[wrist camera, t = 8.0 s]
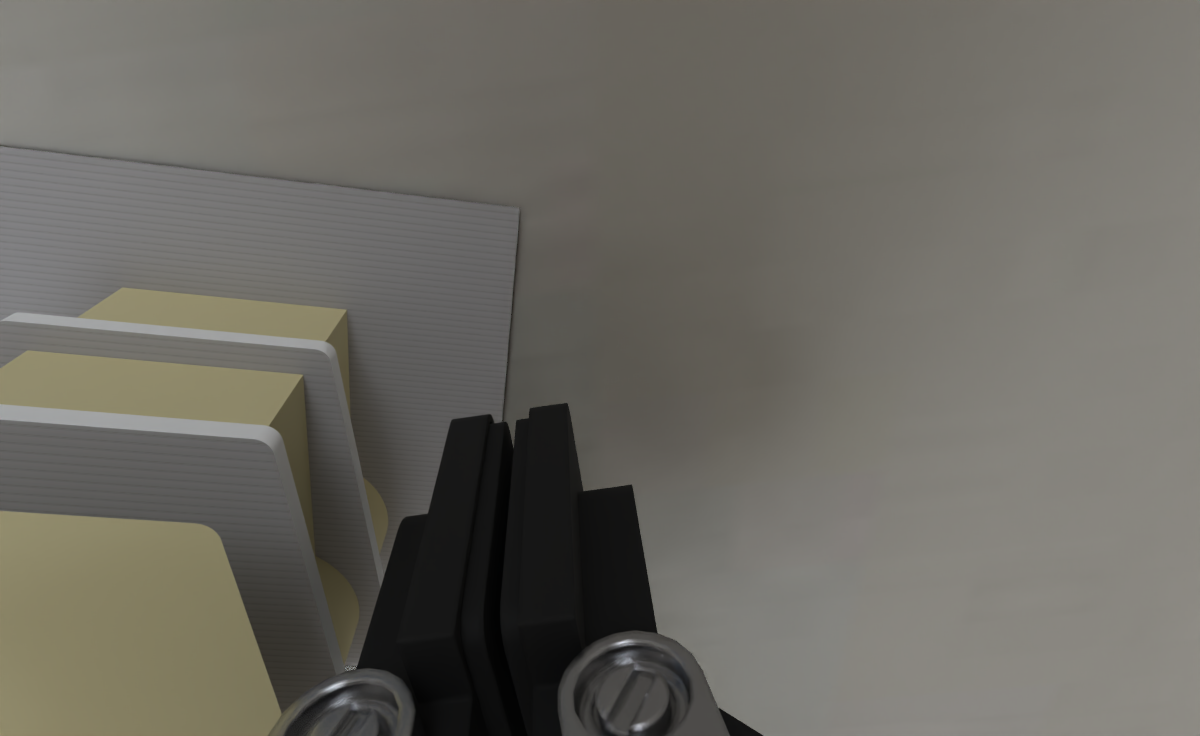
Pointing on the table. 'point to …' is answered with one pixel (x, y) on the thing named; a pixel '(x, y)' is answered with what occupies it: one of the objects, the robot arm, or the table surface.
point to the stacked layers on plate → (219, 429)
